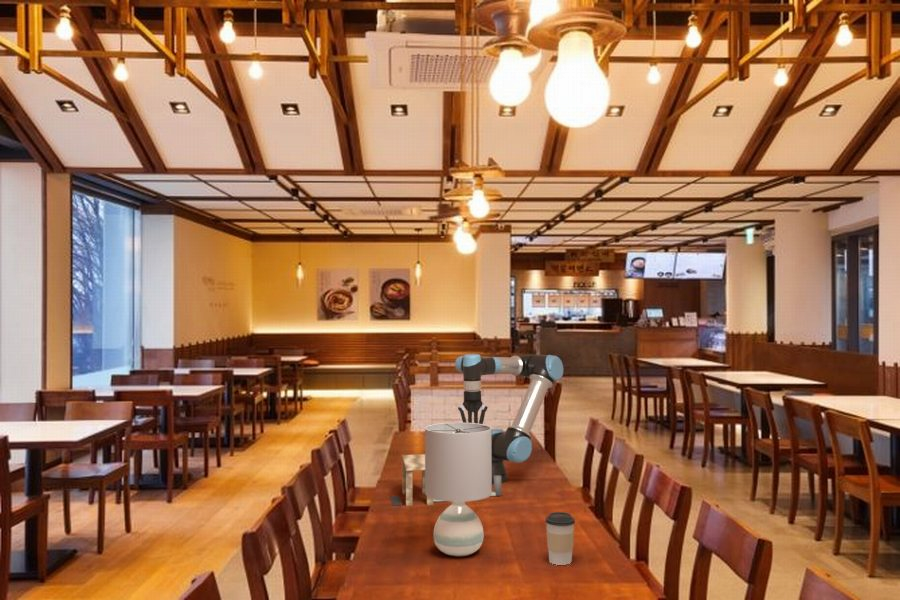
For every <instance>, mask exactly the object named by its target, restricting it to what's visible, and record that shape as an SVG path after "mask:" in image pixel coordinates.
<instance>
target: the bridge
mask: <svg viewBox="0 0 900 600" xmlns="http://www.w3.org/2000/svg"><path fill="white" fill-rule="evenodd" d="M401 457H402V458H401V459H402V460H401V461H402V462H401V463H402V464H401V465H402V467H401V469H402V474H401V476H402V477H401V478H402V480H401V481H402V484H401V485H402V491H401V492H402V495H405V506H406V507H408V506H409V507H411V506H413V471H421V480H422V481H421V493H422V494H423V495H424V494H425V453H422V454H402V455H401ZM425 495H426V494H425ZM426 505H427V506H434V502H433V499H432V498H430V497H428V496H426Z"/></svg>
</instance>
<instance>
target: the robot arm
mask: <svg viewBox="0 0 900 600" xmlns="http://www.w3.org/2000/svg"><path fill="white" fill-rule="evenodd" d="M454 363H455V364H454V365H455V369H456V370H457V372H460V373H463V374H462V375H463V402H462V405H460V406H458V407H457V410H458V411H459V413H460V417H461V420H462V421H461V422H462V423H476V424H483V425H484V420H485V416H486V412H487V410H488V406H487V405H485V404H483V401H482V376H489V375H490V376H491V375H495V374H510V375H512V376H518V377H522V378H523V377H524V378H528V379H529V380H530V382H529V385H528V388H527V389H526V392H525V395H524V397H523V400H522V402H521V403H520V407H519V409H518V410H517V413H516V416H515V418H514V421H513V422H512V425H510V426H508V427H507V429H506V431H505V432H504V430H503V429H504V428H503V429H502V428H494V429H492V428H491V449H492V484H494V475H501V483H504V482H507V481H508V472H507V470H506V466H505V463H504V461H509V462H511V463H523V462H525V461H527V459H529V458H530V457H531V456H530V455H532V454H531V453H532V450H533V447H532V446H533V443H532V440H531V439H532V436H531V434H530V432H531V430H532V429H533V426H534V423H535V421H536V418H537V416H538V414H539V412H540V408H541V406H542V403H543V402H544V400H545V397H546V395H547V392H548V389H550V388H553V386H554V384H555V381H556V382H557V381H559V380H561V379H562V378H563V375H564V365H563V362H562V360H561V359H560V357H558V356H557V355H552V354H533V353H532V354H531V353H530V354H523V355H512V356H510V357H508V356H507V357H506V356H504V357H503V356H481V355H480V354H478V353H471V354H470V353H467V354H464V355H460V356H458V357H456V360H455V362H454ZM480 409H481V410H480ZM464 410H466V411H467V419H466V415H465V412H464ZM479 411H480V416H479ZM478 416H479V417H478Z"/></svg>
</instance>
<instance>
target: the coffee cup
mask: <svg viewBox="0 0 900 600" xmlns="http://www.w3.org/2000/svg"><path fill="white" fill-rule="evenodd" d="M545 523H546V528H545V529H546V543H547V544H546V545H547V550H548V551H547V552H548V562H549V563H550V564H551V563H552V564H551V565H553V564H556V565H555V566H557V565H566V564H570V563H571V562H572V561H573V550H574V539H575V538H574V537H575V530H574V529H575V523H576V522H575V518H574V517H573V516H572V514H570V513H567V512H559V511H558V512H557V511H555V512H550V513H549V515H548V516H547V517H546V518H545ZM571 564H572V563H571ZM571 564H570V565H571Z"/></svg>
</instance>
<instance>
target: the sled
mask: <svg viewBox="0 0 900 600" xmlns="http://www.w3.org/2000/svg"><path fill="white" fill-rule="evenodd" d="M493 496H495V497H496V496H497V497H500V496H502V482H501V475H494V483H493V490H492V494H491V495H490V496H489V497H493ZM434 502H435V503H436V502H442V501H441V500H436V499H433V503H434Z"/></svg>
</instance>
